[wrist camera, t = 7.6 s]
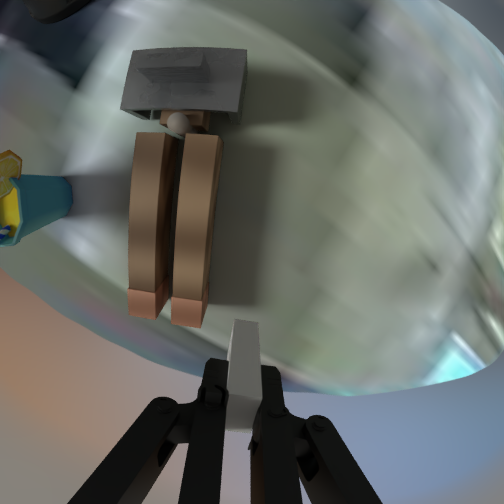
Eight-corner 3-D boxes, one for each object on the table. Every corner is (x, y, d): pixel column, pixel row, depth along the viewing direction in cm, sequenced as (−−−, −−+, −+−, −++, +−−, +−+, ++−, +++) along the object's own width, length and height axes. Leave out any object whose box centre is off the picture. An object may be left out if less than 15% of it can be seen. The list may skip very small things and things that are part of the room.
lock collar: (152, 69, 24) (115, 33, 15) (247, 72, 24) (246, 28, 15) (143, 119, 26) (98, 99, 16) (239, 124, 26) (234, 99, 17)
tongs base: (161, 86, 25) (145, 71, 20) (214, 87, 25) (207, 71, 20) (144, 294, 32) (128, 314, 27) (192, 302, 32) (182, 324, 27)
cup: (71, 264, 31) (-7, 314, 16) (32, 244, 30) (-44, 281, 15) (92, 156, 27) (-2, 155, 13) (49, 144, 26) (-39, 143, 12)
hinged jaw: (195, 140, 27) (184, 133, 22) (224, 142, 27) (219, 135, 22) (182, 301, 32) (171, 323, 27) (207, 305, 32) (200, 328, 27)
